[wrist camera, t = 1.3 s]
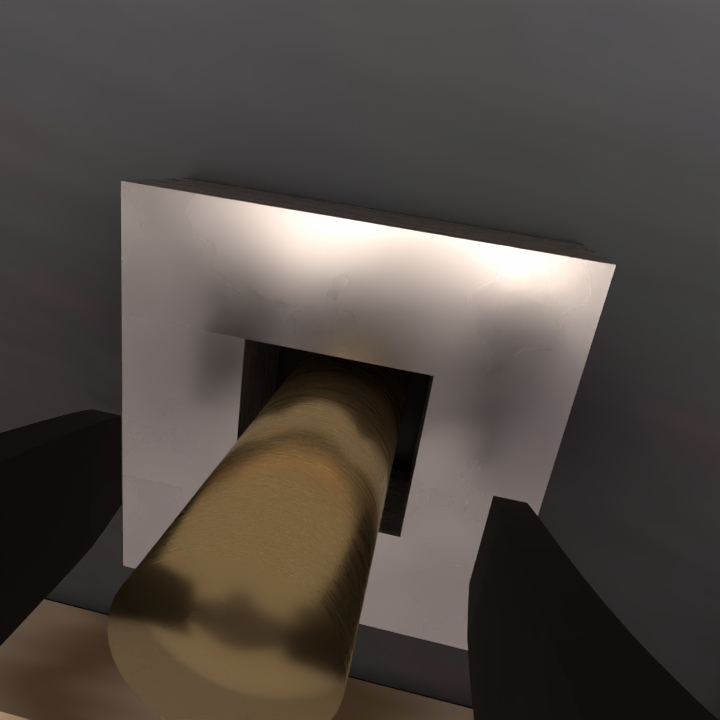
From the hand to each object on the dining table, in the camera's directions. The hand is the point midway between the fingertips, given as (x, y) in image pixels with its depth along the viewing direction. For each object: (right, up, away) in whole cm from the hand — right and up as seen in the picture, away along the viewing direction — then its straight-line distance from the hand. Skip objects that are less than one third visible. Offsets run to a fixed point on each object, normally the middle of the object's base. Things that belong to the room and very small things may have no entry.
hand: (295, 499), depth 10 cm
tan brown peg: (+1, +2, +5) cm, 5 cm away
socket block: (+1, +2, +5) cm, 5 cm away
